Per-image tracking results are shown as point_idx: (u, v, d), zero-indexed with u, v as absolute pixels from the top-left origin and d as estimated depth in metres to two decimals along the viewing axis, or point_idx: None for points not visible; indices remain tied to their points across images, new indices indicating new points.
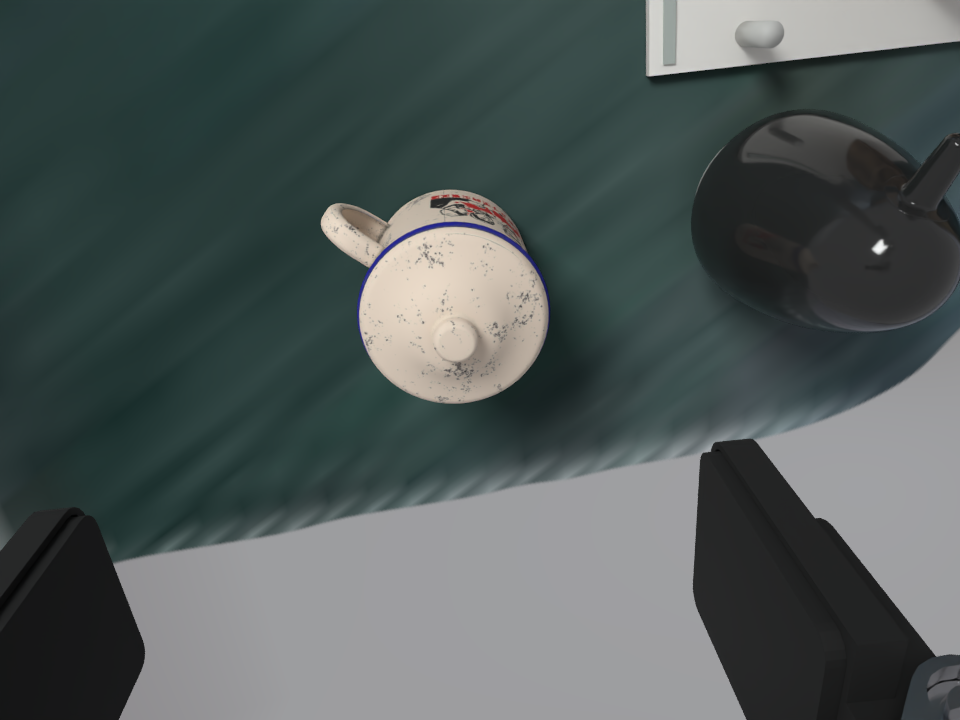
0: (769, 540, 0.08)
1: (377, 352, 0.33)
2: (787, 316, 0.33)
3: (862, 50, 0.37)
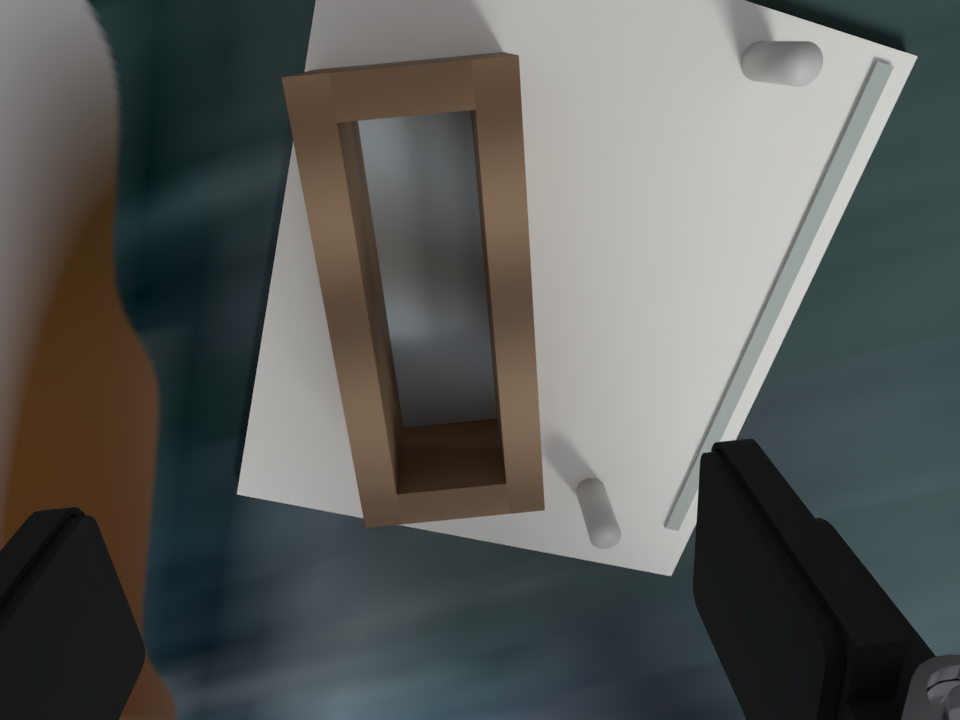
0: (769, 540, 0.08)
1: None
2: None
3: None
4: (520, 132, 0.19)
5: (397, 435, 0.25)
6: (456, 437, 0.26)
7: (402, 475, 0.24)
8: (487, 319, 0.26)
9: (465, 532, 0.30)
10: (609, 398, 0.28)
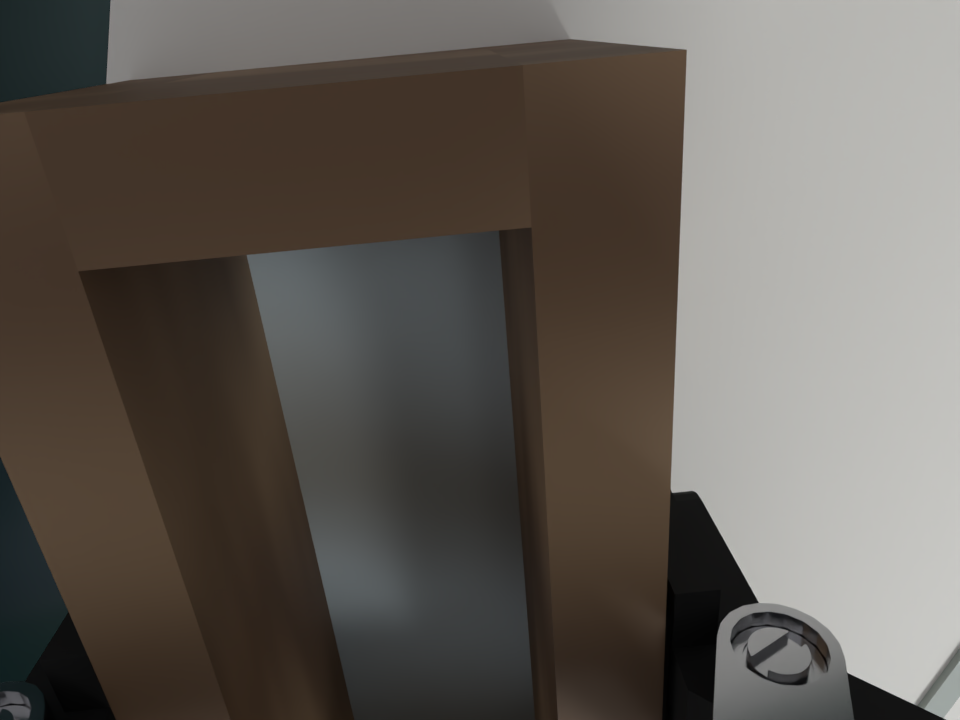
0: None
1: None
2: None
3: None
4: (670, 293, 0.06)
5: None
6: None
7: None
8: (521, 573, 0.13)
9: None
10: None
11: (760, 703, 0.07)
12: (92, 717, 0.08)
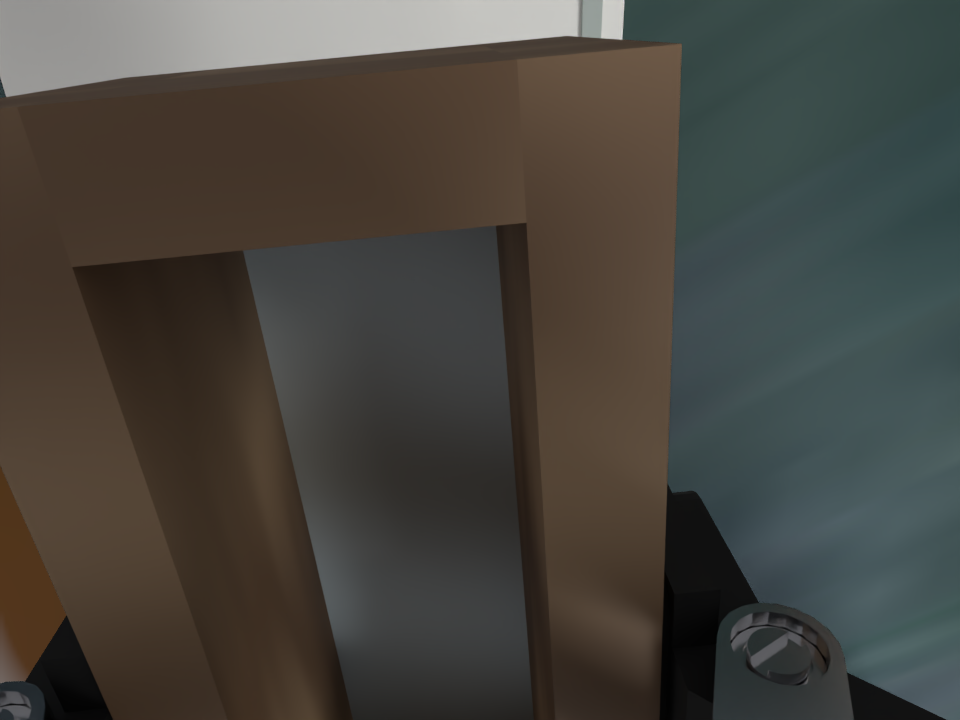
0: None
1: None
2: None
3: None
4: (666, 289, 0.06)
5: None
6: None
7: None
8: (520, 572, 0.13)
9: None
10: None
11: (760, 703, 0.07)
12: (92, 717, 0.08)
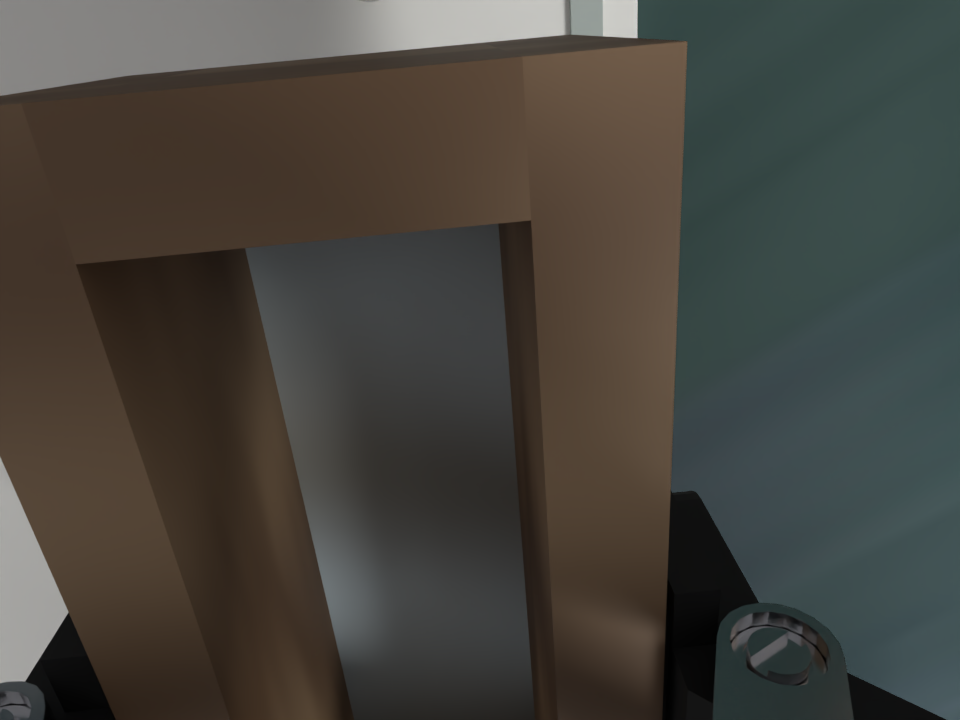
0: None
1: None
2: None
3: None
4: (670, 287, 0.06)
5: None
6: None
7: None
8: (521, 571, 0.13)
9: None
10: None
11: (760, 703, 0.07)
12: (92, 716, 0.08)
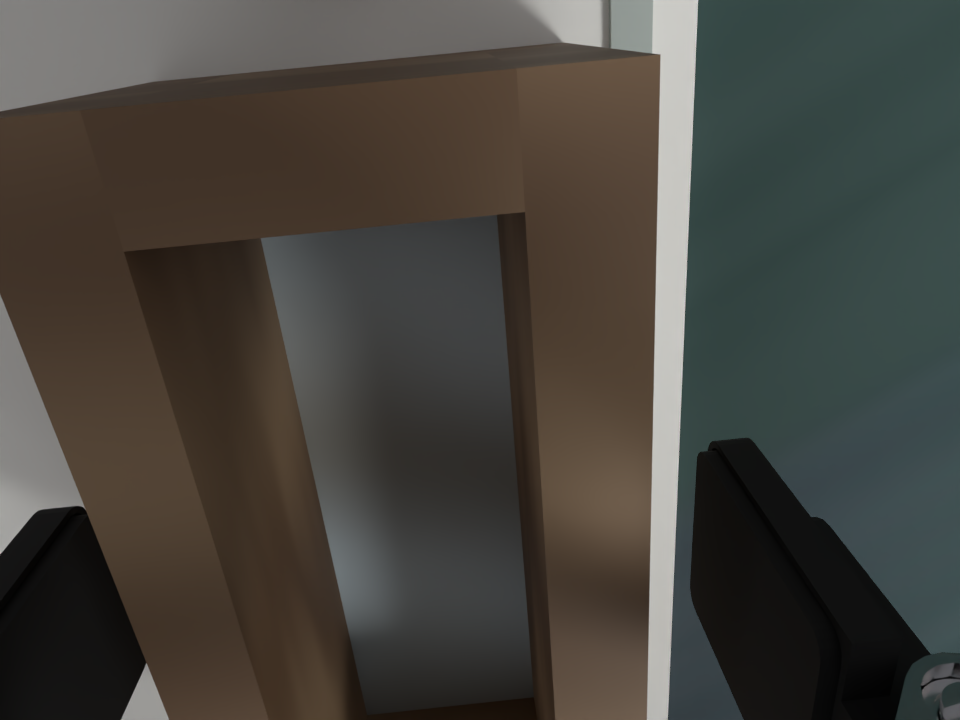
0: (765, 539, 0.08)
1: None
2: None
3: None
4: (649, 271, 0.07)
5: None
6: None
7: None
8: (520, 547, 0.14)
9: None
10: None
11: None
12: None
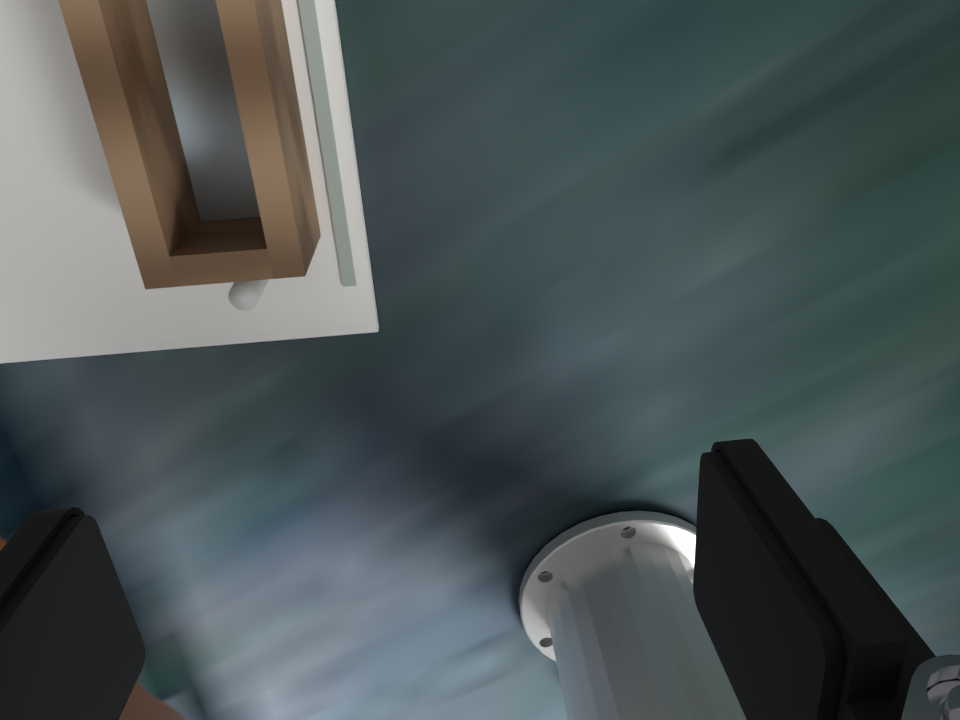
0: (769, 540, 0.08)
1: None
2: None
3: None
4: None
5: (182, 216, 0.28)
6: (243, 225, 0.29)
7: (181, 246, 0.27)
8: None
9: (174, 343, 0.33)
10: None
11: None
12: None
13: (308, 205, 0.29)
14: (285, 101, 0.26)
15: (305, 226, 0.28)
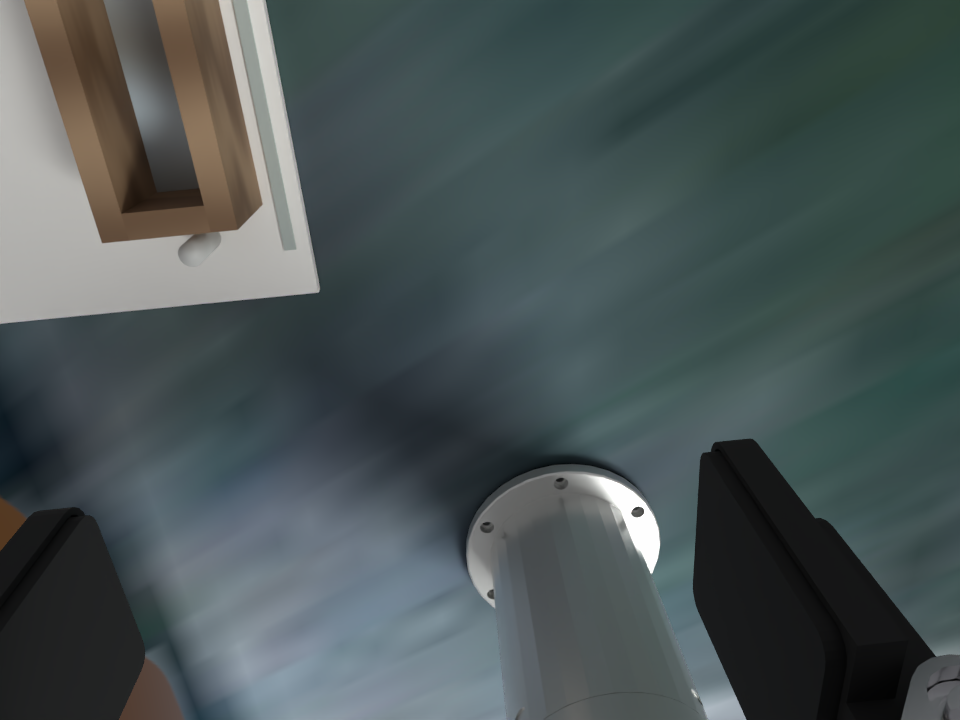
0: (769, 540, 0.08)
1: None
2: None
3: None
4: None
5: (136, 184, 0.33)
6: (190, 193, 0.34)
7: (133, 207, 0.32)
8: None
9: (139, 305, 0.38)
10: None
11: None
12: None
13: (246, 174, 0.34)
14: (219, 81, 0.31)
15: (240, 189, 0.33)
